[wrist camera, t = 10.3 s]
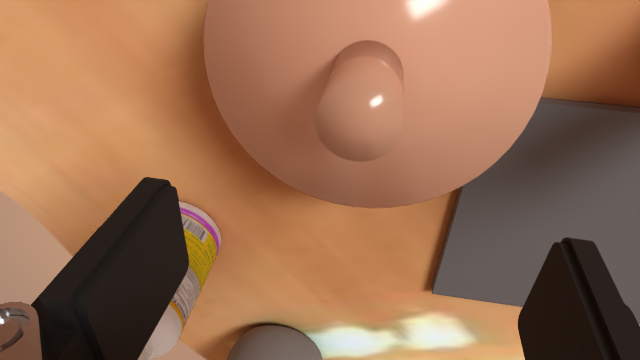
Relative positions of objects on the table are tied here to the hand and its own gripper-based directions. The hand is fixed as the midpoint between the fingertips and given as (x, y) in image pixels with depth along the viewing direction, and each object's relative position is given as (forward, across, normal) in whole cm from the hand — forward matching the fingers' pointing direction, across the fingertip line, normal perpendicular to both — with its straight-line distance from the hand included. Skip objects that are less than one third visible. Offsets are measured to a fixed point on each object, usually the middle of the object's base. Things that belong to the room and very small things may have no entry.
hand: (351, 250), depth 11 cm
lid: (+12, +1, 0) cm, 12 cm away
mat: (+18, -15, +11) cm, 25 cm away
